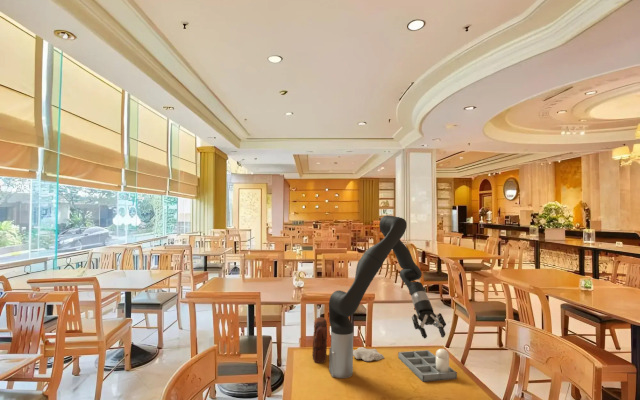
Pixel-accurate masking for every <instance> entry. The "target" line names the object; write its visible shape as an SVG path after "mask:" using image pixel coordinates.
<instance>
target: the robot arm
mask: <svg viewBox="0 0 640 400" xmlns="http://www.w3.org/2000/svg"><path fill="white" fill-rule="evenodd" d="M407 225H408V224H407V220H406V218H403V217H400V216H395V215H383V217H381V219H380V221H379V231H380V232H381V233H382V235H383V239H381V240H380V241H379V242H377V243H375V244H374V245H372V246H371V247H369V248H368V249H367V250H365V252H364V253H363V254H362V256H361V257H360V259H358V262H357V264H356V268H355V269H356V270H355V278H354V280H353V282H352V285H351V286H350V287H349V289H347V291H344V290H335V291H334V292H333V293H331V295H330V298H329V300H328V301H329V302H328V318H329V320H328V321H329V325H330V331H331V332H330V347H329V349H328V350H329V353H328V354H329V356H328V357H329V360H328V361H329V362H328V363H329V364H328V372H329V374H330V375H331V377H332V378H337V379H348V378H351V377H352V376H353V373H354V372H353V371H354V367H353V365H354V356H353V350H354V324H353V322H351V320H350V318H349V317H352V316H353V315H354V314H355V312H356V311H357V310H358V308H359V306H360V304H361V302H362V301H363V297H365V296H364V295H365V294H366V291H367V290H368V288H369V287H370V285H371V284H372V282H373V280H374V278H375V276H376V275H377V273H378V272H379V271H380V269H381V268H382V267H383V264H384V262H385V261H386V259H387V258H388V256H389V254H390V253H391V252H392V251H393V253H394V255H395V257H396V260H397V263H398V264H399V267H400V268H401V270H399V277H400V279H401V280H402V282H403V283H404V284H405V286H406V287H407V288H408V291H409V294H410V297H411V301H412V304H413V306H414V310H415V311H416V312H415V313H416V314H415V313H413V314H412V316H411V319H412V323H413V327H414V329H415V330H419V331H420V334H421V337H422V338H423V339H427V337H428V335H427V332H426V329H425V328H424V327H425V326H428V325H429V326H434V327H436V328H437V329H438V332H439V334H440V337H441V338H445V336H446V332H445V329H444V328H445V327H446V326H447V323H446V321H445V319H444V316H443V314H442V313H438V314H436V313H434V308H433V306H432V304H431V301H430V298H429V296H428V294H427V293H426V290H425V287H424V285H423V283H422V282H421V281H417V280H420V279H421V278H422V275H423V273H422V270H421V269H420V266H418V265H417V264H416V262H415V260H414V259H413V256H412V254H411V251H410V250H409V248H408V246H406V244H405V243H404V242H403V241H402V240H401V238H402V237H403V236H404V235H405V233H406V231H407ZM419 321H420V323H419Z"/></svg>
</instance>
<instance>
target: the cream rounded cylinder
mask: <svg viewBox="0 0 640 400" xmlns="http://www.w3.org/2000/svg"><path fill="white" fill-rule="evenodd" d="M435 356H436V370H437V371H438V372H439V373H446V372H449V367H450V353H449V352H448V351H447V350H446V349H444V348H439V349H437V350H436V351H435Z"/></svg>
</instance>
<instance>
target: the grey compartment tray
mask: <svg viewBox="0 0 640 400" xmlns="http://www.w3.org/2000/svg"><path fill="white" fill-rule="evenodd" d="M397 356H398V359H399V360H400V361H401V362H402V363H403V364H404V366H406V367H407V368H408V369H409V370H410V371H411V372H412V373H413V374H414V375H415V376H416V377H418V379H419V380H420V381H421V382H422V383H426V382H428V383H429V382H436V381H438V382H439V381H448V380H449V381H450V380H457V379H458V372H457V371H456V370H455V369H454V368H452V367H451V366H449V372H446V373H439V372H438V371H437V370H436V354H434V353H432V352H431V351H430V350H428V349H426V350H424V349H423V350H410V351H398V355H397Z"/></svg>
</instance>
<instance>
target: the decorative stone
mask: <svg viewBox="0 0 640 400" xmlns="http://www.w3.org/2000/svg"><path fill="white" fill-rule="evenodd" d="M353 358H355V359H356V360H361V359H362V361H364V362H372V361H380V360H382V359H384V358H385V356H384V355H383V354H382V353H380V352H379V351H378V350H377V349H376V348H366V347H363V346H361V347H357V349H353Z"/></svg>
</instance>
